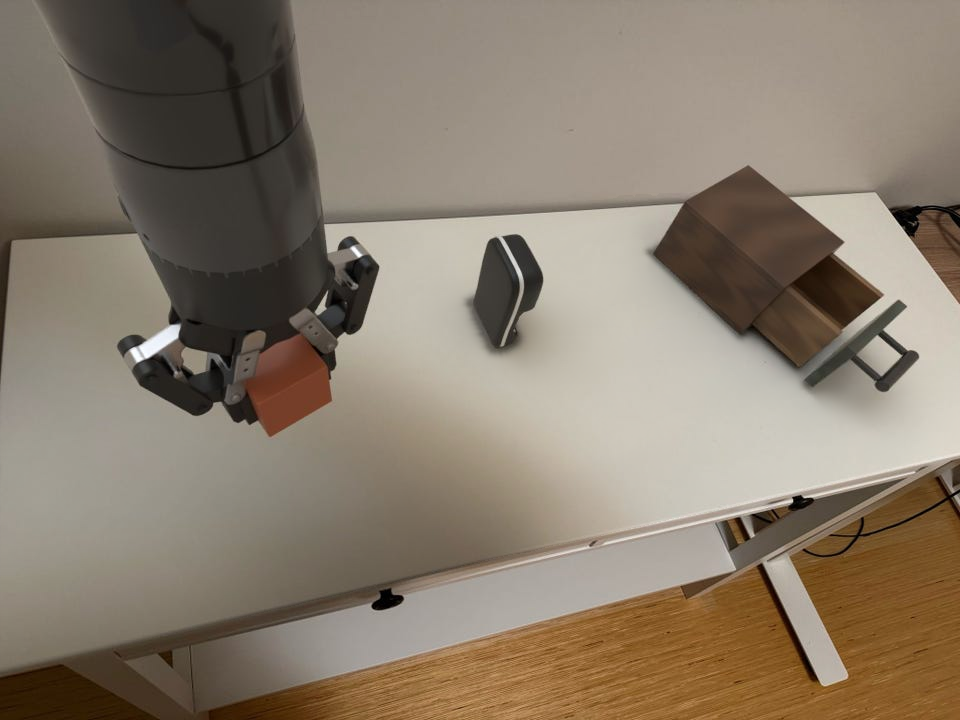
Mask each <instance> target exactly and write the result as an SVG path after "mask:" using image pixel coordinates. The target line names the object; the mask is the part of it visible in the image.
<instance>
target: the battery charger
mask: <svg viewBox="0 0 960 720" xmlns="http://www.w3.org/2000/svg"><path fill="white" fill-rule="evenodd" d="M478 275H479V276H478V280H477V285H476V289H475V294H474V298H473V305H474V306H475V309H476V311H477V314H478V315H479V318H480V320H481V322H482V324H483V326H484V328H485V331H486V332H487V335H488V337H489V339H490V341H491V343H492V345H493V346H494V347H500V348H501V347H504V346H505V345H509V344H512V343H513V342H515V341H516V340H517V338H518V335H519V332H518V329H517V327H516V326H517V324H518V321H519V319H520V317H521V316H522V315H523V313H526V312H529V311H532V310H533V309H535V308H536V304H537V302H538V300H539V298H540V295H541V292H542V288H543V285H544V273H543V271H542V268H541V266H540V265H539V263H538V261H537V258H536V257H535V255H534V253H533V251H532V249H531V248H530V246H529V245H528V243H527V241H526V240H525V238H524V237H523V236H521V234H517V233H514V234H507V235H502V236H501V235H496V236H494V237H491V238H490V239H489V240H487V243H486V245H485V250H484V253H483V256H482V261H481V266H480V270H479V274H478Z"/></svg>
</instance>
